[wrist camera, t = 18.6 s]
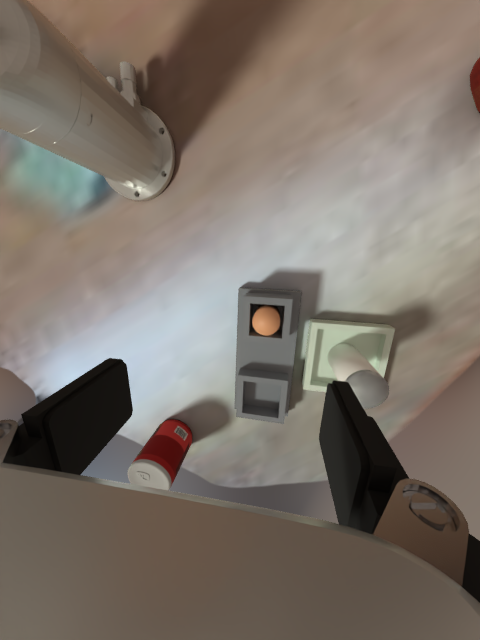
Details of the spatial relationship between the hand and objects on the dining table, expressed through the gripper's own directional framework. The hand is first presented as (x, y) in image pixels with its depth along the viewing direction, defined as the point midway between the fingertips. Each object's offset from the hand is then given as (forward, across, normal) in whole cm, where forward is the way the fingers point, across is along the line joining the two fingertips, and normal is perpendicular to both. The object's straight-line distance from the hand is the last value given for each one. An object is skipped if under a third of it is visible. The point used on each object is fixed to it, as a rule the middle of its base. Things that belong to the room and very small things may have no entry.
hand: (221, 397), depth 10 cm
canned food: (+29, +17, +32) cm, 46 cm away
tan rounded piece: (+27, -1, +3) cm, 27 cm away
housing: (+29, -2, +11) cm, 31 cm away
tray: (+28, -14, +10) cm, 33 cm away
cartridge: (+28, -14, +10) cm, 33 cm away
